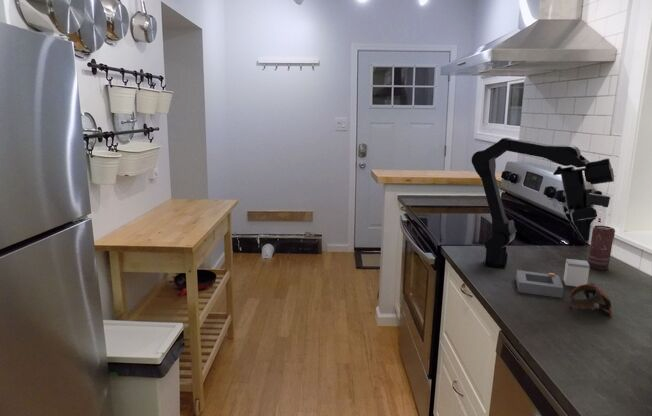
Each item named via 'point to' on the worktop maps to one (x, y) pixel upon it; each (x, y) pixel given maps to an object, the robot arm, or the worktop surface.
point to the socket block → (539, 283)
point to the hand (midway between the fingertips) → (583, 237)
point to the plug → (576, 272)
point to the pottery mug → (590, 298)
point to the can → (601, 247)
